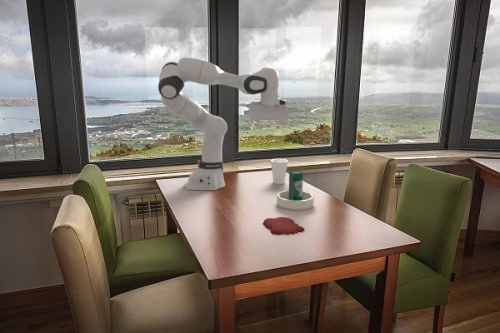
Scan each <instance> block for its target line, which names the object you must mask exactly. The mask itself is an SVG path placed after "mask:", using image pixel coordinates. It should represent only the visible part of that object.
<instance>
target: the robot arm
mask: <svg viewBox="0 0 500 333" xmlns="http://www.w3.org/2000/svg"><path fill="white" fill-rule="evenodd" d="M158 78H159V79H158V84H157V87H158V88H157V89H158V92H159V95H160V96H161V98H160V101H161V103H162V104H163V105H164V107H166V108H167V109H168V110H169V111H171V112H172V113H173V114H175V115H176V116H178V117H179V118H181V119H182V120H184V121H185V122H187V123H189V124H190V125H191V126H192V127H194V128H195V129H197V130H198V131H199V132H201V133H202V134H203V135H204V137H203V142H202V145H201V160H200V159H199V160H197V161H196V163H197V165H198V166H197V168H196V169H195V170H194V171H192V172H190V174H189V176H188V179H187V181H186V182H185V183H184V185H183V187H184V188H185V189H186V190H188V191H216V190H218V189H222V188H224V187H225V186H226V183H225V182H226V181H225V179H224V171H223V170H224V161H223V143H224V138H225V135H226V133H227V131H228V123H227V122H226V120H224V119H223V118H222V117H220V116H217V115H213V114H212V113H210V112H209V111H207V110H206V109H205V108H204V107H203V106H202V105H201V104H199V103H198V102H197V101H196V100H194V99H193V98H192V97H190V96H188V95H187V94H185V93H184V92H183V91H182V90H183V89H184V87H185V83H187V82H188V83H189V82H190V83H194V84H199V85H204V86H215V85H223V86H228V87H231V88H236V89H237V90H239V91H240V92H241V93H243V94H245V95H252V96H254V95H258V94H260V101H258V100H257V101H251V102H250V103H249V104H248V110H249V113H248V114H249V115H248V119H249V120H250V121H255V122H256V124H257V129H258V130H262V128H263V127H262V125H261V124H260V121H278V123H277V124H276V126H275V129H277V130H279V129H281V127H280V126H281V124H282V122H283V121H284V120H286V121H287V120H289V118H290V109H289V106H288V100H286V99H282V98H279V92H278V89H279V73H278V71H277V70H276V69H274V68H271V67H262V69H260V70H258V71H257V72H254V73H252V74H245V75H244V74H243V75H238V74H234V73H230V72H226V71H224V70H222V69H221V68H220V67H219V66H217V65H216V64H214V63H212V62H209V61H207V60H204V59H200V58H199V59H198V58H194V57H193V58H192V57H182V58H180V59H179V60H178V62H175V61H170V62H167V63H165V64H164V65H163V67H161V70H160V74H159V77H158ZM185 189H184V190H185Z"/></svg>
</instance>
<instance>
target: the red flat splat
mask: <svg viewBox="0 0 500 333" xmlns="http://www.w3.org/2000/svg"><path fill="white" fill-rule="evenodd" d="M262 225H263V226H264V227H265V229H267V230H270V231H269V232H270V233H271V234H272V235H275V234H276V235H275V236H280V235H281V234H282V235H284V234H286V235H285V236H290V235H289V234H293V235H296V234H298V232H301V233H304V232H305V231H304V230H305V228H304V227H303V226H301V225H299V224H298V223H296V222H295V220H293V219H292V218H290V217H286V216H279V217H274V218H273V217H268V218H265V219H264V220H263V222H262ZM303 231H304V232H303ZM295 233H296V234H295Z"/></svg>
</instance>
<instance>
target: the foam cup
mask: <svg viewBox="0 0 500 333" xmlns="http://www.w3.org/2000/svg"><path fill="white" fill-rule="evenodd" d="M288 162H289V160H287V159H285V158H273V159H271V160H270V165H271V175H272V182H273V184H275V185H283V184H284V183H285V181H286V175H287V169H288Z"/></svg>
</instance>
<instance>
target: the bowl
mask: <svg viewBox="0 0 500 333" xmlns="http://www.w3.org/2000/svg"><path fill="white" fill-rule="evenodd" d="M288 199H289V189H288V190H282V191H279V192H278V193H276V200H275V201H276V204H277V205H276V206H278V207H279V208H281V209H283V210H287V211H295V212H297V211H307V210H310V209H312V208H313V207H314V203H315V195H314V194H313V193H312V192H308V191H305V190H302V200H299V201H295V200H288Z"/></svg>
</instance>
